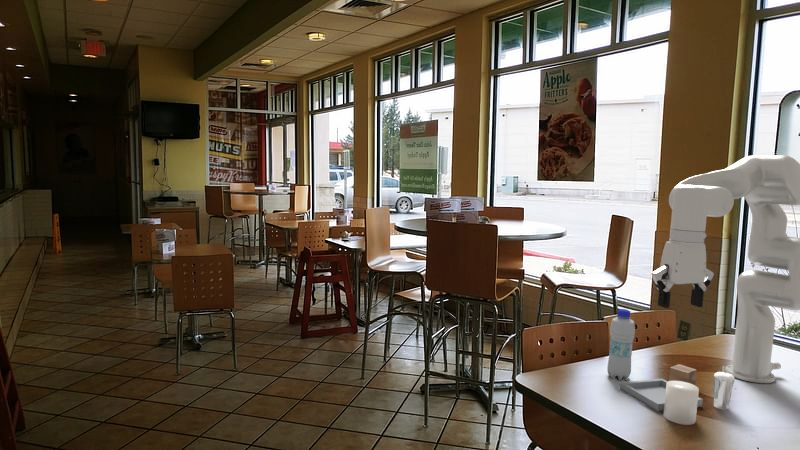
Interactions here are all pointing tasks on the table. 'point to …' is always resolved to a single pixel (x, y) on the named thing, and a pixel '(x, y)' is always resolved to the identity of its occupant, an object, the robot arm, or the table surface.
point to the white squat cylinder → (681, 402)
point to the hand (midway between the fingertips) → (679, 306)
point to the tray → (649, 392)
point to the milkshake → (722, 389)
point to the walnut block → (682, 374)
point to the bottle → (621, 345)
